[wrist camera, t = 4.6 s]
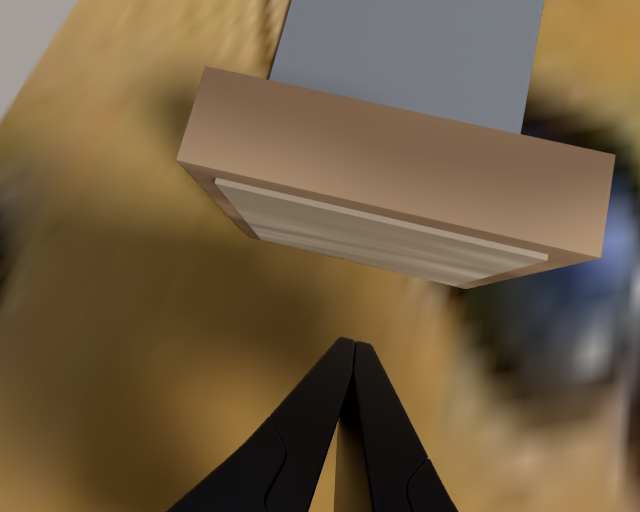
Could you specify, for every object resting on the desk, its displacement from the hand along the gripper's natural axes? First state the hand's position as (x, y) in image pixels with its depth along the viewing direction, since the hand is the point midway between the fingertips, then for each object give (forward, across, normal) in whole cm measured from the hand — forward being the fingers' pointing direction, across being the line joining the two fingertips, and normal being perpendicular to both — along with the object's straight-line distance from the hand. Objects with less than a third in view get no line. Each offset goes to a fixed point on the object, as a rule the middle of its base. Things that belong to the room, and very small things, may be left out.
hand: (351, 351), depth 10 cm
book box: (+9, 0, -2) cm, 9 cm away
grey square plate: (+14, 0, +4) cm, 15 cm away
